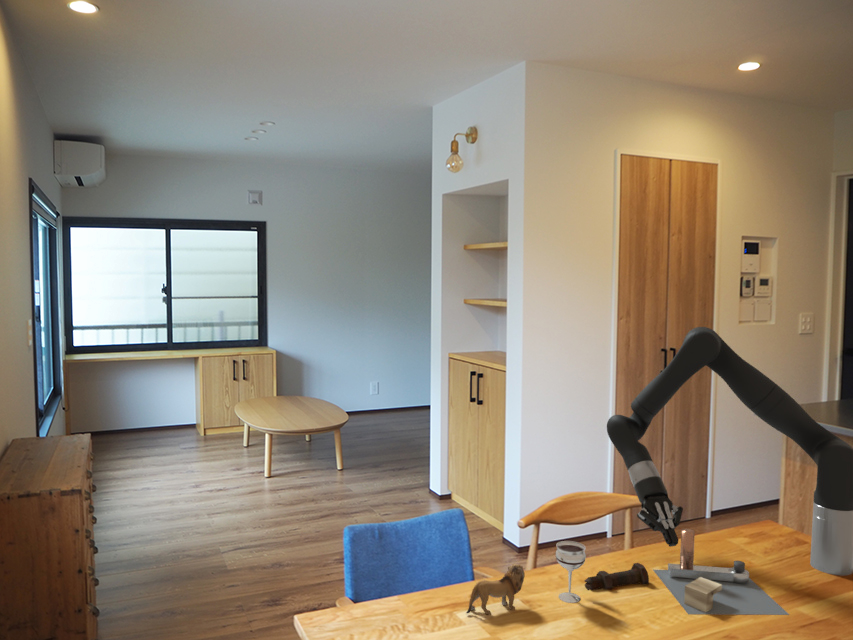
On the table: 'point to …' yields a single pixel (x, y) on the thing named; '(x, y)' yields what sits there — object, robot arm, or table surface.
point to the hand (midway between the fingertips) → (674, 545)
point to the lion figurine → (499, 588)
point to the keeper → (701, 593)
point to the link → (693, 571)
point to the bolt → (618, 578)
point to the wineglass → (570, 564)
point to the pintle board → (726, 596)
